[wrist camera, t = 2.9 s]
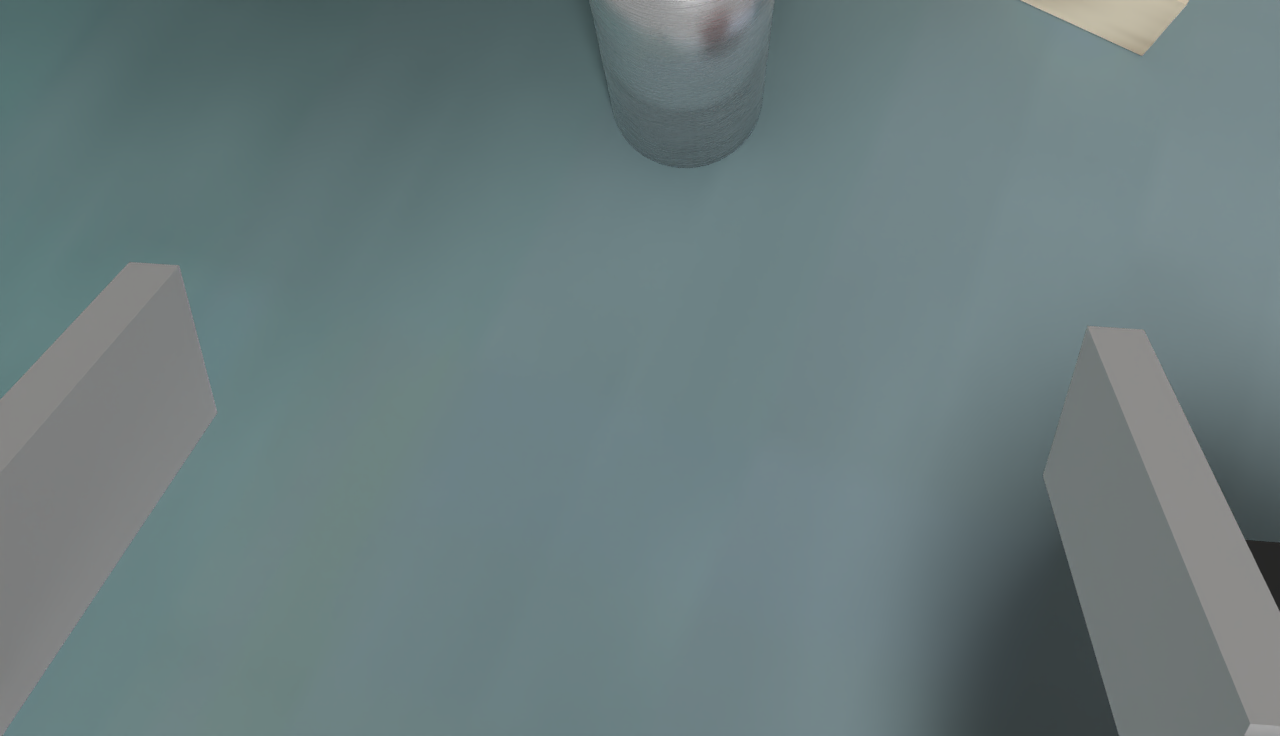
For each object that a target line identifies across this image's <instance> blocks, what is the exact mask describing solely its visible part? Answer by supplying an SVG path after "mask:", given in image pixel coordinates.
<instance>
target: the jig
mask: <svg viewBox="0 0 1280 736" xmlns="http://www.w3.org/2000/svg"><path fill="white" fill-rule="evenodd" d="M1021 1H1023V2H1026V3H1028V4H1030V5H1032V6H1034V7H1036V8H1039V9H1041V10H1043V11H1045V12H1047V13H1050V14H1052V15H1054V16H1056V17H1058V18H1060V19H1063V20H1065V21H1067V22H1069V23H1071V24H1074V25H1076V26H1078V27H1080V28H1082V29H1084V30H1087V31H1089V32H1091V33H1093V34H1095V35H1098V36H1100V37H1102V38H1104V39H1106V40H1108V41H1111V42H1113V43H1115V44H1117V45H1119V46H1122V47H1124V48H1126V49H1128V50H1130V51H1132V52H1135V53H1137V54H1139V55H1141V56H1143V54H1144V53H1145V52H1146V51H1147V50H1148V49H1149V48H1150V46H1151V45H1152V44H1153V43H1154V42H1155V41H1156V39H1157V38H1158V37H1159V36H1160V35H1161V34H1162V33H1163V31H1164V30H1165V29H1166V28H1167V27H1168V26H1169V25H1170V23H1171V22H1172V21H1173V20H1174V19H1175V18H1176V17H1177V15H1178V14H1179V13H1180V12H1181V11H1182V10H1183V8H1184V7H1185V6H1186V5H1187V3H1188V1H1189V0H1021Z"/></svg>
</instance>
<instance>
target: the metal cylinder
mask: <svg viewBox="0 0 1280 736" xmlns="http://www.w3.org/2000/svg"><path fill="white" fill-rule="evenodd" d="M589 2H590V6H591V11H592V16H593V20H594V25H595V30H596V34H597V39H598V44H599V48H600V53H601V58H602V63H603V67H604V72H605V77H606V81H607V86H608V91H609V95H610V100H611V105H612V109H613V114H614V118H615V120H616V123H617V126H618V128H619V129H620V131H621V133H622V135H623V136H624V137H625V139H626V140H627V141H628V143H629V144H630V145H631V146H632V147H633V148H634V149H635V150H637V151H638V152H639V153H641V154H642V155H643V156H645V157H647V158H649V159H650V160H652V161H655V162H657V163H660V164H663V165H667V166H671V167H678V168H692V167H700V166H704V165H709V164H711V163H714V162H717V161H719V160H721V159H723V158H725V157H727V156H728V155H730V154H731V153H733V152H734V151H735V150H736V149H738V148H739V147H740V146H741V145H742V144H743V143H744V142H745V140H746V139H747V138H748V137H749V135H750V134H751V132H752V131H753V129H754V127H755V125H756V123H757V121H758V118H759V115H760V112H761V106H762V99H763V91H764V83H765V75H766V66H767V58H768V50H769V41H770V33H771V25H772V16H773V8H774V0H589Z"/></svg>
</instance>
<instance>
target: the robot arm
mask: <svg viewBox="0 0 1280 736" xmlns="http://www.w3.org/2000/svg"><path fill="white" fill-rule="evenodd" d="M216 414H217V410H216V406H215V402H214V398H213V394H212V390H211V386H210V383H209V379H208V375H207V371H206V367H205V363H204V359H203V355H202V352H201V348H200V344H199V340H198V336H197V332H196V328H195V325H194V321H193V317H192V313H191V309H190V305H189V301H188V297H187V294H186V290H185V286H184V282H183V278H182V274H181V270H180V267H179V265H165V264H150V263H135V262H129V263H128V264H127V265H126V266H125V267H124V268H123V270H122V271H121V272H120V273H119V274H118V275H117V276H116V277H115V278H114V279H113V280H112V281H111V282H110V283H109V284H108V286H107V287H106V288H105V289H104V290H103V291H102V292H101V293H100V294H99V295H98V296H97V297H96V298H95V299H94V300H93V302H92V303H91V304H90V305H89V306H88V307H87V308H86V309H85V310H84V311H83V312H82V313H81V314H80V315H79V316H78V318H77V319H76V320H75V321H74V322H73V323H72V324H71V325H70V326H69V327H68V328H67V329H66V330H65V331H64V332H63V334H62V335H61V336H60V337H59V338H58V339H57V340H56V341H55V342H54V343H53V344H52V345H51V346H50V347H49V348H48V349H47V351H46V352H45V353H44V354H43V355H42V356H41V357H40V358H39V359H38V360H37V361H36V362H35V363H34V364H33V365H32V367H31V368H30V369H29V370H28V371H27V372H26V373H25V374H24V375H23V376H22V377H21V378H20V379H19V380H18V381H17V383H16V384H15V385H14V386H13V387H12V388H11V389H10V390H9V391H8V392H7V393H6V394H5V395H4V396H3V397H2V399H1V400H0V736H2V735H3V734H4V732H5V731H6V729H7V728H8V726H9V725H10V723H11V722H12V720H13V719H14V717H15V716H16V714H17V713H18V711H19V710H20V708H21V707H22V705H23V704H24V702H25V701H26V699H27V698H28V696H29V695H30V693H31V692H32V690H33V689H34V687H35V686H36V684H37V683H38V681H39V680H40V678H41V677H42V675H43V674H44V672H45V671H46V669H47V668H48V666H49V665H50V663H51V662H52V660H53V659H54V657H55V656H56V654H57V653H58V651H59V650H60V648H61V647H62V645H63V644H64V642H65V641H66V639H67V638H68V636H69V635H70V633H71V632H72V630H73V629H74V627H75V626H76V624H77V623H78V621H79V620H80V618H81V617H82V615H83V614H84V612H85V611H86V609H87V608H88V606H89V605H90V603H91V602H92V600H93V599H94V597H95V596H96V594H97V593H98V591H99V590H100V588H101V587H102V585H103V584H104V582H105V581H106V579H107V578H108V576H109V575H110V573H111V572H112V570H113V569H114V567H115V566H116V564H117V563H118V561H119V559H120V558H121V556H122V555H123V553H124V552H125V550H126V549H127V547H128V546H129V544H130V543H131V541H132V540H133V538H134V537H135V535H136V534H137V532H138V531H139V529H140V528H141V526H142V525H143V523H144V522H145V520H146V519H147V517H148V516H149V514H150V513H151V511H152V510H153V508H154V507H155V505H156V504H157V502H158V501H159V499H160V498H161V496H162V495H163V493H164V492H165V490H166V489H167V487H168V486H169V484H170V483H171V481H172V480H173V478H174V477H175V475H176V474H177V472H178V471H179V469H180V468H181V466H182V465H183V463H184V462H185V460H186V459H187V457H188V456H189V454H190V453H191V451H192V450H193V448H194V447H195V445H196V444H197V442H198V441H199V439H200V438H201V436H202V435H203V433H204V432H205V430H206V429H207V427H208V426H209V424H210V423H211V421H212V420H213V418H214V417H215V415H216ZM1043 478H1044V481H1045V485H1046V488H1047V492H1048V495H1049V498H1050V502H1051V505H1052V509H1053V512H1054V516H1055V519H1056V522H1057V526H1058V529H1059V533H1060V536H1061V539H1062V543H1063V546H1064V550H1065V553H1066V557H1067V560H1068V563H1069V567H1070V570H1071V574H1072V577H1073V580H1074V584H1075V587H1076V591H1077V594H1078V598H1079V601H1080V604H1081V608H1082V611H1083V615H1084V618H1085V621H1086V625H1087V628H1088V632H1089V635H1090V638H1091V642H1092V645H1093V649H1094V652H1095V656H1096V659H1097V662H1098V666H1099V669H1100V673H1101V676H1102V679H1103V683H1104V686H1105V690H1106V693H1107V697H1108V700H1109V703H1110V707H1111V710H1112V714H1113V717H1114V720H1115V724H1116V727H1117V731H1118V734H1119V736H1280V543H1276V542H1264V541H1251V540H1245V539H1244V537H1243V534H1242V532H1241V530H1240V528H1239V526H1238V524H1237V522H1236V520H1235V518H1234V516H1233V514H1232V512H1231V510H1230V507H1229V505H1228V503H1227V501H1226V499H1225V497H1224V495H1223V493H1222V491H1221V489H1220V487H1219V485H1218V483H1217V481H1216V478H1215V476H1214V474H1213V472H1212V470H1211V468H1210V466H1209V464H1208V462H1207V460H1206V458H1205V456H1204V454H1203V451H1202V449H1201V447H1200V445H1199V443H1198V441H1197V439H1196V437H1195V435H1194V433H1193V431H1192V429H1191V427H1190V425H1189V422H1188V420H1187V418H1186V416H1185V414H1184V412H1183V410H1182V408H1181V406H1180V404H1179V402H1178V400H1177V398H1176V395H1175V393H1174V391H1173V389H1172V387H1171V385H1170V383H1169V381H1168V379H1167V377H1166V375H1165V373H1164V371H1163V369H1162V366H1161V364H1160V362H1159V360H1158V358H1157V356H1156V354H1155V352H1154V350H1153V348H1152V346H1151V344H1150V342H1149V339H1148V337H1147V335H1146V333H1145V331H1144V330H1140V329H1125V328H1110V327H1095V326H1087V329H1086V332H1085V336H1084V339H1083V343H1082V346H1081V349H1080V353H1079V356H1078V359H1077V363H1076V366H1075V369H1074V373H1073V376H1072V379H1071V383H1070V386H1069V390H1068V393H1067V396H1066V400H1065V403H1064V406H1063V410H1062V413H1061V416H1060V420H1059V423H1058V426H1057V430H1056V433H1055V437H1054V440H1053V443H1052V447H1051V450H1050V453H1049V457H1048V460H1047V463H1046V467H1045V470H1044V473H1043Z"/></svg>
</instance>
